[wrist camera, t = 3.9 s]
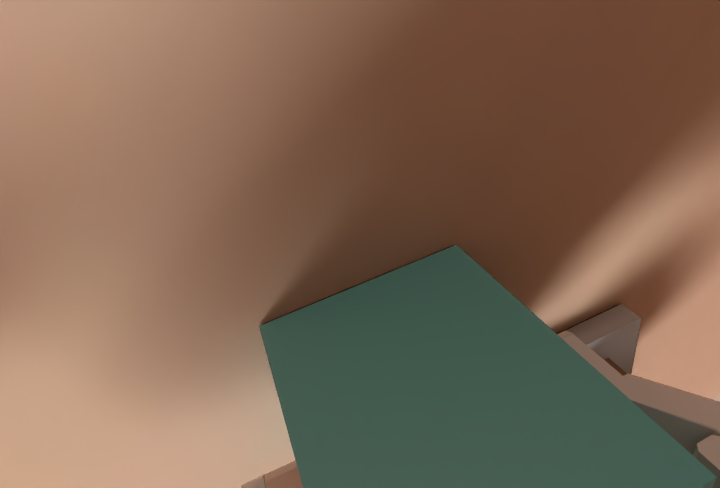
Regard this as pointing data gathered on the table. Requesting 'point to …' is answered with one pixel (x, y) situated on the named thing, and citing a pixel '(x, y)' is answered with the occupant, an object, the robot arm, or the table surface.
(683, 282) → the table surface
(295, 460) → the robot arm
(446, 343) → the teal rectangular block
